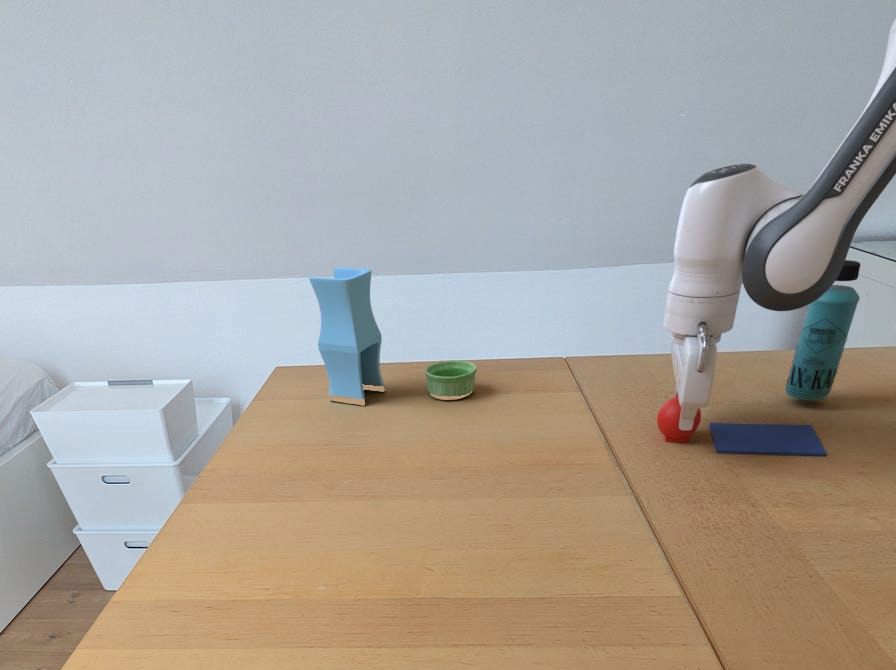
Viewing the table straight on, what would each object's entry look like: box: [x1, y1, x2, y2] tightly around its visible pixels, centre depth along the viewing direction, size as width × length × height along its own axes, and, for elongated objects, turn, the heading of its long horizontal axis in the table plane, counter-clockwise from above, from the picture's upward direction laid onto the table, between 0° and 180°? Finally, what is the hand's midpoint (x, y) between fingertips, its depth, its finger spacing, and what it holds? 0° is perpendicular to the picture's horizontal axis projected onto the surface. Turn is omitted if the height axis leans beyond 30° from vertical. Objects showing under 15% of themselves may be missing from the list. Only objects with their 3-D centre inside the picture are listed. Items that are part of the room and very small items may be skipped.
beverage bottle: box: [784, 259, 861, 401], centre depth 104 cm, size 6×7×20 cm
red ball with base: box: [656, 396, 702, 443], centre depth 101 cm, size 6×6×7 cm
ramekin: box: [424, 359, 477, 397], centre depth 122 cm, size 9×9×4 cm
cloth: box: [709, 422, 828, 457], centre depth 100 cm, size 14×10×1 cm
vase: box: [308, 267, 385, 399], centre depth 119 cm, size 8×8×20 cm
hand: (682, 415), depth 101 cm, fingers open, 8 cm apart
